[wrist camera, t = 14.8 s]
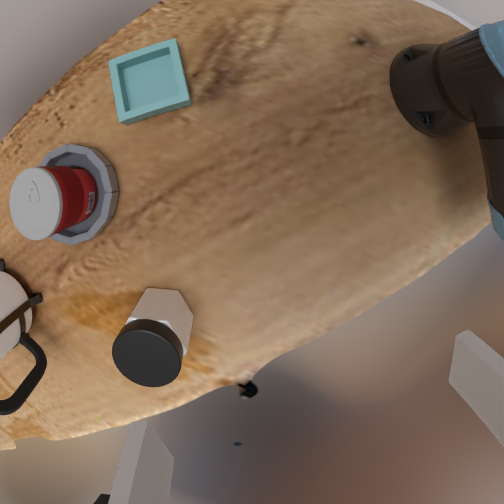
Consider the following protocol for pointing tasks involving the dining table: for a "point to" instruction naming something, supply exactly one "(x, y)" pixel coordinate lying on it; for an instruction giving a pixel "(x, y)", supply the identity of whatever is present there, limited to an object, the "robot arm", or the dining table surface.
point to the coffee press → (18, 335)
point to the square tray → (149, 82)
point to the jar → (154, 338)
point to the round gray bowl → (105, 187)
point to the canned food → (51, 199)
